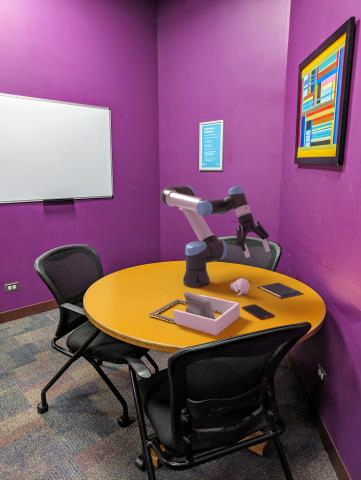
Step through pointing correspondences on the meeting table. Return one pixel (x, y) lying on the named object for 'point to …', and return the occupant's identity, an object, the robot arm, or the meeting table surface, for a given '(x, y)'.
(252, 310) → the cell phone
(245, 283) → the pale pink lumpy piece
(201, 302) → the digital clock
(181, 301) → the frame
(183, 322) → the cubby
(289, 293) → the wallet
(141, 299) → the meeting table surface
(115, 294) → the meeting table surface
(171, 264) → the meeting table surface
